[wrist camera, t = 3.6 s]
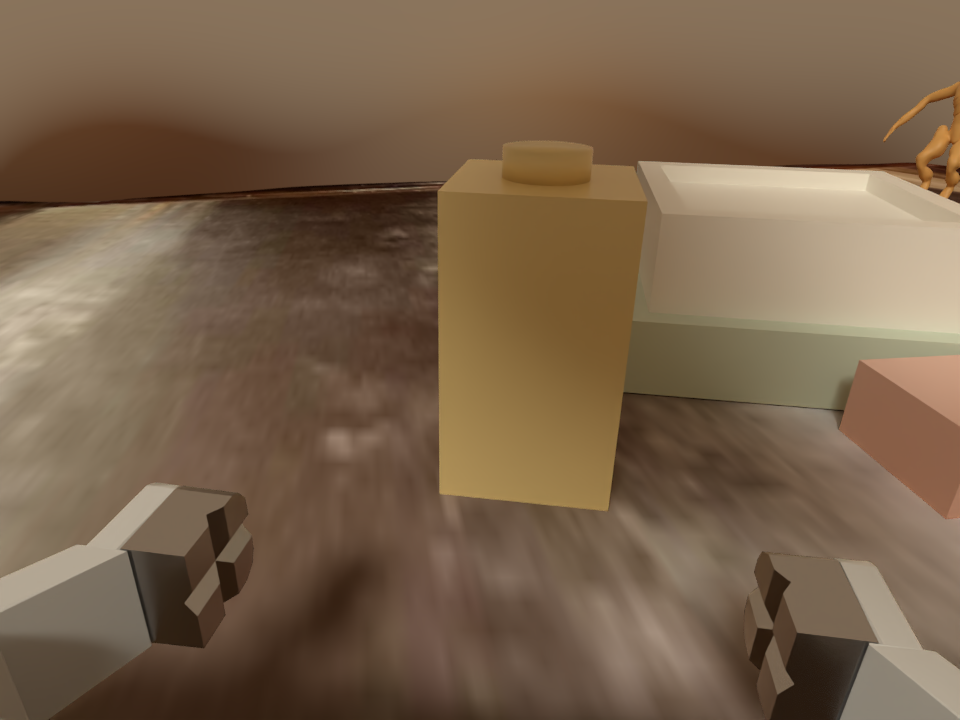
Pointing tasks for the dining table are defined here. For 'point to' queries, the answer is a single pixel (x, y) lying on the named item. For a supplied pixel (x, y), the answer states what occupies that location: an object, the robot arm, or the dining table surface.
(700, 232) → the cream tray on base
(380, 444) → the dining table surface
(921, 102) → the figurine
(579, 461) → the tall brick
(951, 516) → the brick
